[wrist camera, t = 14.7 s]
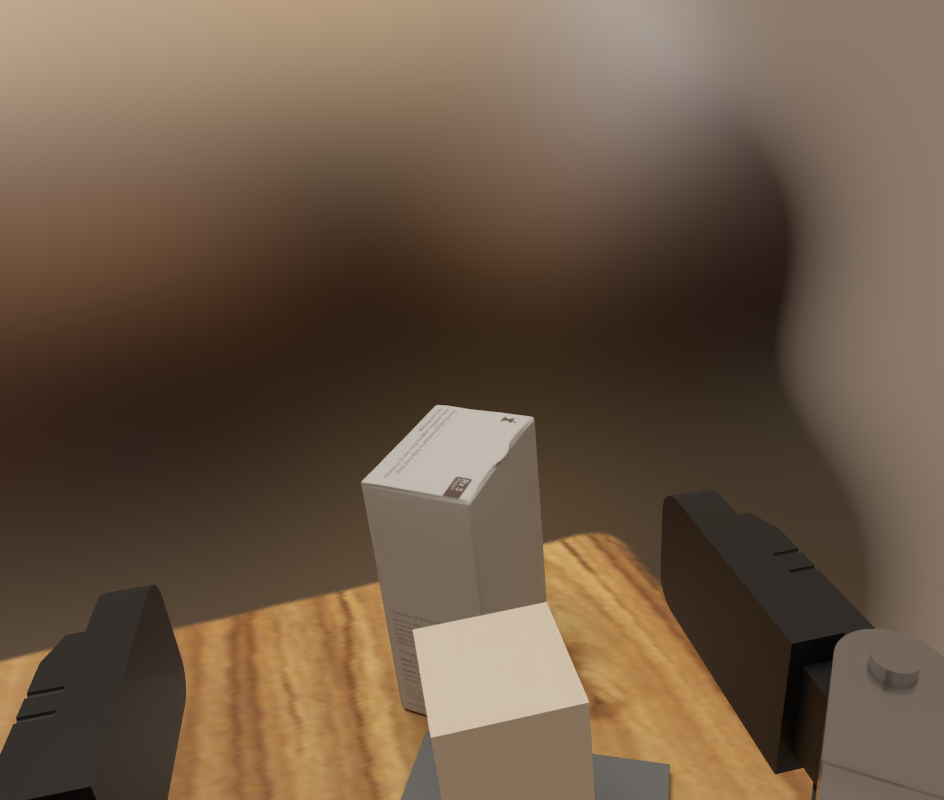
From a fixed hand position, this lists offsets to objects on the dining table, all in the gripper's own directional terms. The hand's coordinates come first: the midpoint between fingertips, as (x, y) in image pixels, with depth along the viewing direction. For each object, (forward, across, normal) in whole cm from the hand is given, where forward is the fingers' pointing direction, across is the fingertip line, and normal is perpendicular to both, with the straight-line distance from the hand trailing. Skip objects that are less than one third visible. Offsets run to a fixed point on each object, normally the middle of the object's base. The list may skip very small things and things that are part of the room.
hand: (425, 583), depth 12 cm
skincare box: (+23, -4, +25) cm, 34 cm away
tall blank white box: (+11, -3, +24) cm, 26 cm away
